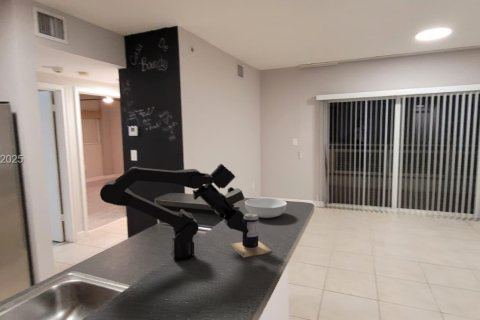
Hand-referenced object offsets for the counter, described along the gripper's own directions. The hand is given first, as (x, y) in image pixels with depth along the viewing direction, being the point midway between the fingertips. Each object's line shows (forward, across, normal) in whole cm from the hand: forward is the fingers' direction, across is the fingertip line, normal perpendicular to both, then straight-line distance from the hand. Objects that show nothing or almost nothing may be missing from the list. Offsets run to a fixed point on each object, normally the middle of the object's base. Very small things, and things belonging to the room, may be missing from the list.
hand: (243, 228), depth 104 cm
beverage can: (+7, 0, +3) cm, 8 cm away
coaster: (+8, 0, +3) cm, 8 cm away
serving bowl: (+23, +37, -12) cm, 45 cm away
